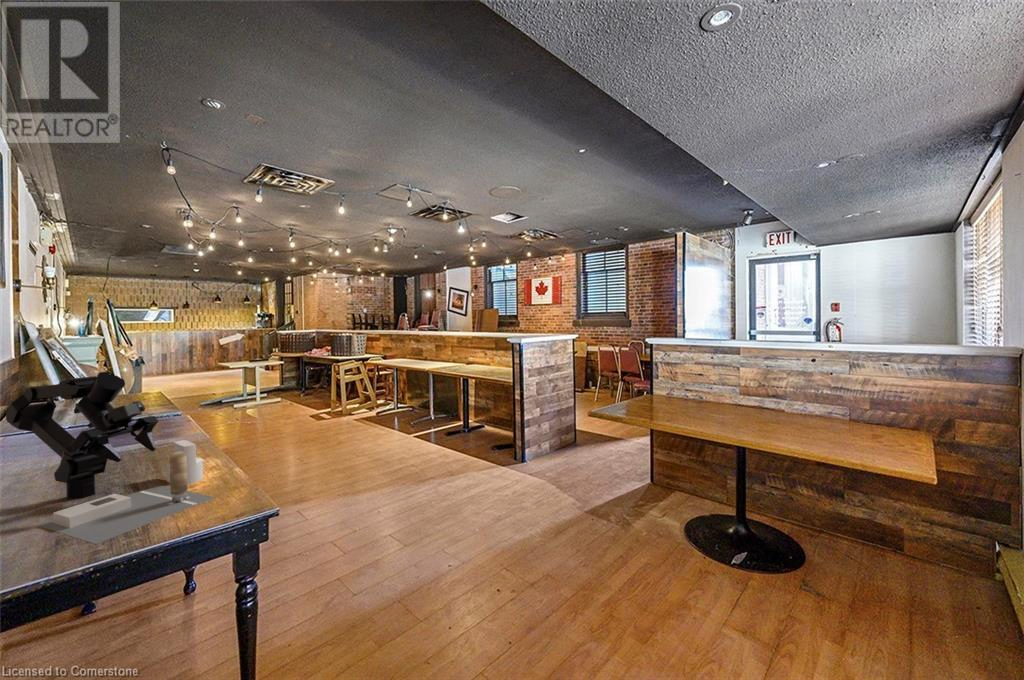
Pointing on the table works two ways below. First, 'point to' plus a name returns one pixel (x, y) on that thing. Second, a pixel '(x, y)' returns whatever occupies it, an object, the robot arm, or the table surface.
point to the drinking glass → (188, 461)
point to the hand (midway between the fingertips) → (137, 455)
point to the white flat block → (91, 510)
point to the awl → (178, 476)
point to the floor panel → (130, 515)
